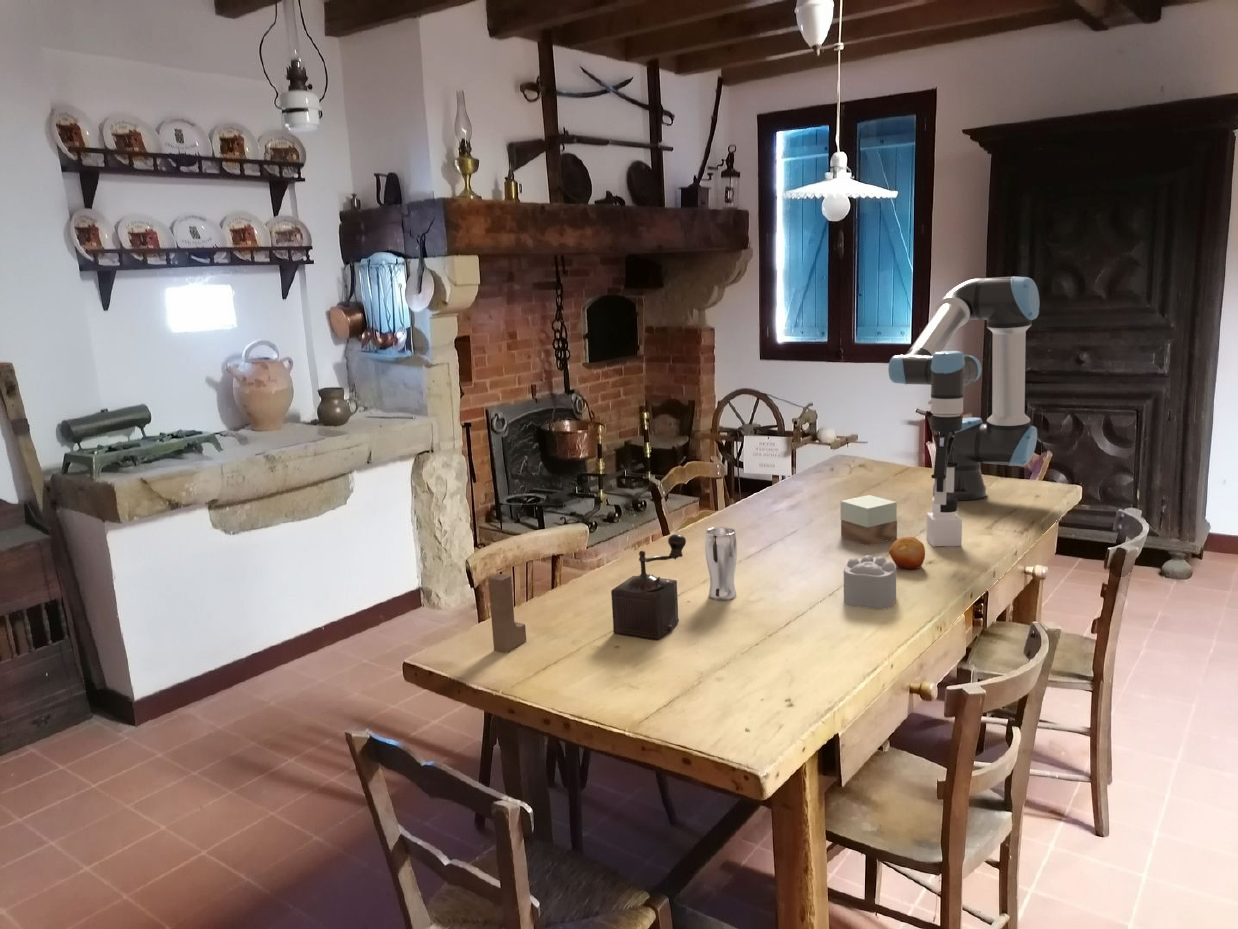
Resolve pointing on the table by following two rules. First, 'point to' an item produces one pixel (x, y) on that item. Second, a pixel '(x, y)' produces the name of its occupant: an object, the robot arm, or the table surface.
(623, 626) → the coffee grinder
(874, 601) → the lumpy-topped squat cylinder
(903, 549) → the fruit
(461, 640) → the table surface
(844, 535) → the walnut slab
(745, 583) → the table surface
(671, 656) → the table surface
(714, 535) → the beer glass
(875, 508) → the sage slab
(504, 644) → the wooden block
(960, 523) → the medicine bottle
